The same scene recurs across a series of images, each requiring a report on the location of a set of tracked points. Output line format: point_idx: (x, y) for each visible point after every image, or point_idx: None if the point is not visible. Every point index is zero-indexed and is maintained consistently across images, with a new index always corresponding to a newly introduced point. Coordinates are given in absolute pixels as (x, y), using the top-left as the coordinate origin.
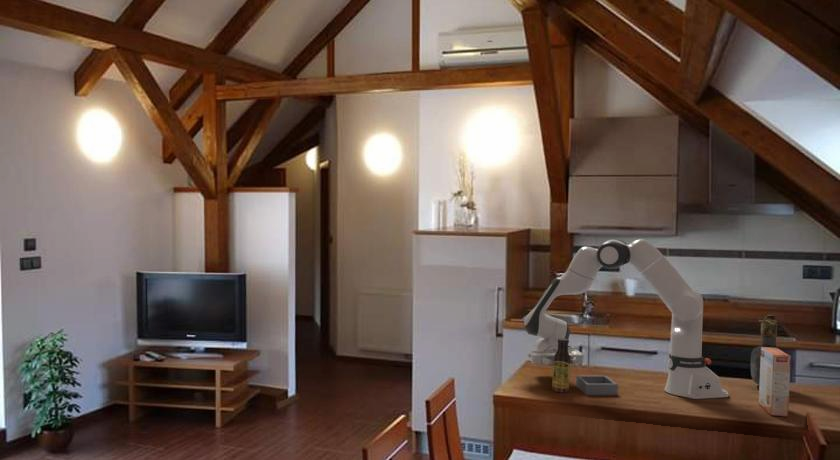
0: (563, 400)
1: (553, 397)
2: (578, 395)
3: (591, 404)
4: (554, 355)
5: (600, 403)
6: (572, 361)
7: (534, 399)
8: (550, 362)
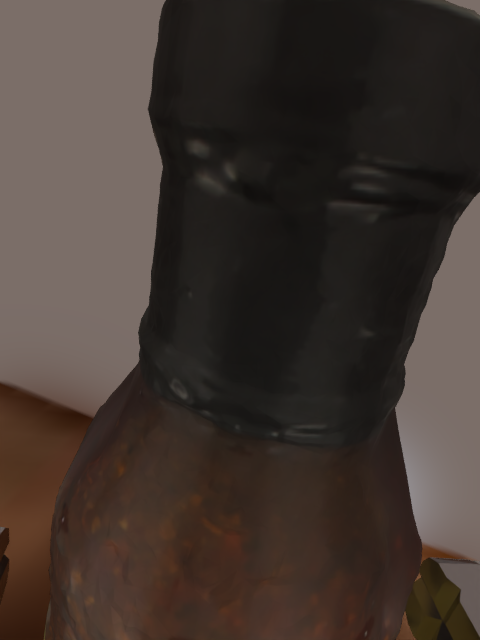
0: None
1: None
2: (36, 625)
3: (75, 434)
4: (420, 556)
5: (5, 440)
6: (5, 535)
7: None
8: (428, 577)
